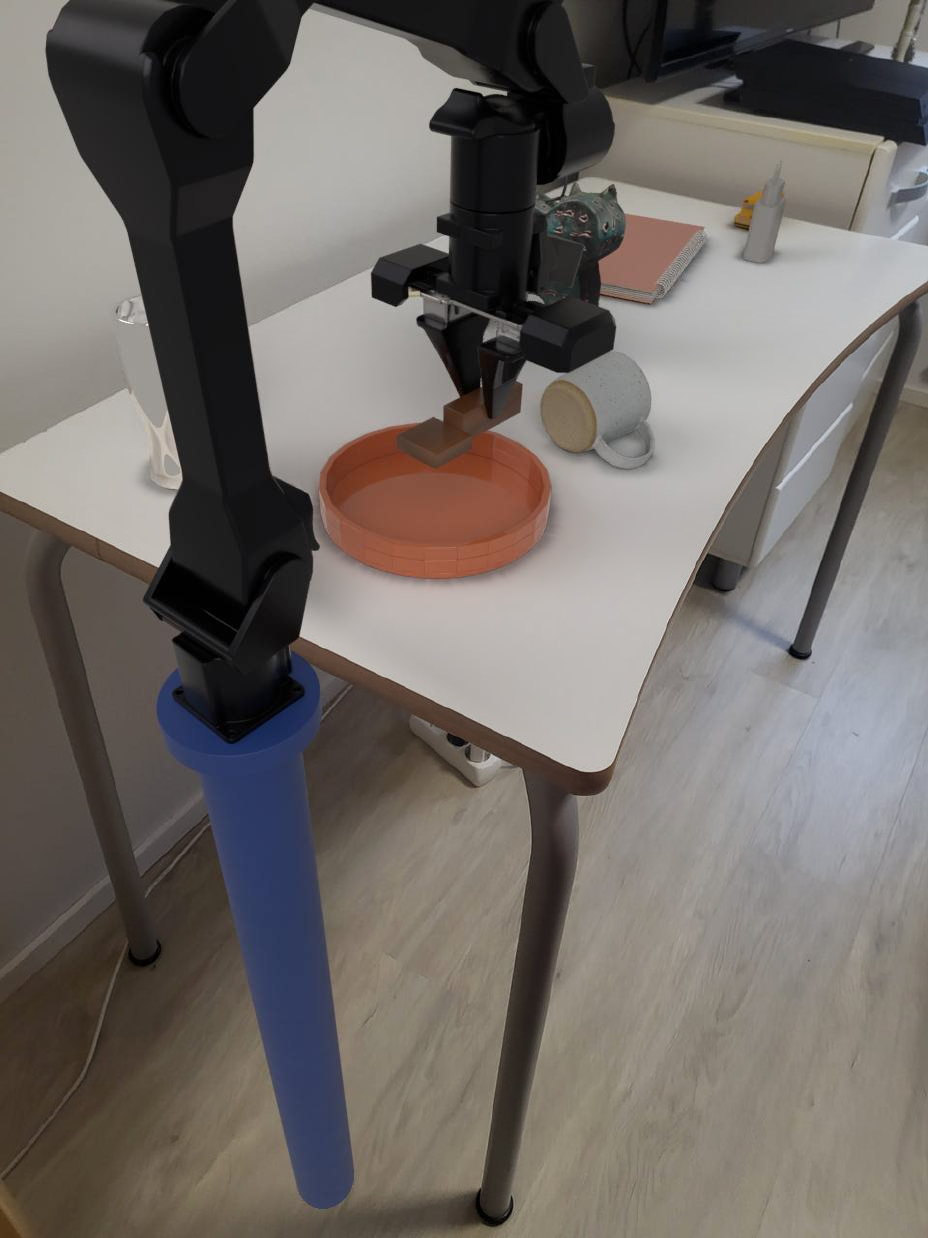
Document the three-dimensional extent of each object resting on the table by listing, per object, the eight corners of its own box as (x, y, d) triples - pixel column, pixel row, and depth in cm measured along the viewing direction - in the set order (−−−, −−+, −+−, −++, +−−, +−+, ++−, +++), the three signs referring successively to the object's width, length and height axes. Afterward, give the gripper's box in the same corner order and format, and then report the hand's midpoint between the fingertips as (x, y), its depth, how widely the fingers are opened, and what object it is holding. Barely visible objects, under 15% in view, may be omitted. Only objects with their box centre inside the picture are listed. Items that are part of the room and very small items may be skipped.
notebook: (659, 307, 115) (661, 290, 113) (531, 281, 120) (532, 266, 118) (709, 240, 134) (712, 225, 132) (597, 220, 139) (599, 206, 137)
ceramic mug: (530, 438, 89) (537, 363, 84) (587, 411, 94) (597, 338, 89) (615, 485, 84) (629, 408, 79) (671, 454, 88) (687, 379, 83)
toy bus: (731, 226, 139) (736, 199, 136) (761, 212, 144) (767, 185, 142) (750, 232, 137) (756, 204, 135) (780, 216, 143) (786, 190, 140)
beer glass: (202, 443, 87) (174, 283, 77) (240, 475, 83) (216, 310, 73) (131, 467, 83) (93, 302, 74) (167, 502, 79) (132, 333, 70)
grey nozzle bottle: (774, 252, 131) (797, 159, 123) (763, 263, 127) (785, 168, 120) (752, 247, 132) (773, 155, 124) (741, 258, 128) (762, 164, 121)
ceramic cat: (611, 357, 104) (638, 162, 91) (578, 376, 100) (602, 176, 87) (472, 307, 113) (478, 124, 100) (437, 323, 109) (439, 135, 96)
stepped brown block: (530, 416, 74) (533, 387, 72) (435, 469, 68) (435, 438, 66) (492, 399, 76) (493, 371, 74) (396, 449, 70) (395, 419, 68)
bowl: (442, 611, 70) (443, 580, 68) (274, 511, 79) (270, 480, 77) (592, 507, 81) (596, 477, 79) (429, 429, 90) (429, 401, 88)
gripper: (677, 206, 62) (641, 417, 72) (468, 149, 71) (462, 343, 82) (577, 247, 56) (553, 472, 66) (361, 178, 65) (370, 385, 75)
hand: (482, 411), depth 72 cm, fingers closed on stepped brown block, 2 cm apart
